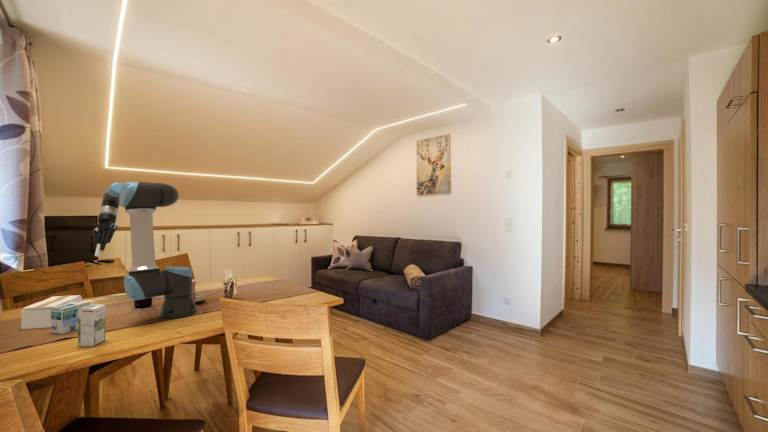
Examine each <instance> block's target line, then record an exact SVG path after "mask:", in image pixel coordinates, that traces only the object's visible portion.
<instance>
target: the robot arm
mask: <svg viewBox="0 0 768 432" xmlns="http://www.w3.org/2000/svg"><path fill="white" fill-rule="evenodd" d="M179 198H180V194H179V191H178V189H177V188H176V187H174V186H172V185H171V184H167V183H164V182H163V183H162V182H161V183H159V182H158V183H157V182H147V181H127V182H125V183H122V182H113V183H112V184H110V185H109V187H108V188H107V189H106V190H104V193H103V196H102V202H101V205H100V209H99V213H98V216H97V222H98V223H97V225H96V227H95V228H92V229H91V231H92V244H93V245H96V246H95V249H94V250H95V252H94V256H95V257H97V258H102V257H103V254H104V251H105V249H106V245H107V244H110V243H111V241H112V238H113V237H114V235H115V232H116V230H117V229H118V227H119V226H118V225H117V224H116V222H117V217H118V212H119V207H122V208H124V212H125V213H127V214H128V215H129V227H130V243H131V244H130V246H131V247H130V248H131V249H130V250H131V266H132V267H131V268H130V269H129V270H128V274H126V275H125V276H124V277H123V287H124V290H125V293H126V295H127V298H128V299H130V301H138V300H139V301H140V300H146V299H151V298H156V297H161V296H163V297H164V300H163V303H162V305H161V308H160V311H159V317H160V318H162V319H179V318H183V317H189V316H191V315H193V314H195V313H196V312H197V306H196V303H195V301H194V298H193V277H194V276H193V271H192V268H190V267H188V266H187V267H186V266H175V265H173V266H165V267H164V268H163V270H160V266H158V265H157V264H156V255H155V254H156V251H155V238H154V237H155V236H154V219H153V214H154V213H155V212H156V211H157V208H166V207H170V206H172V205H175V203H177V202H178V200H179Z"/></svg>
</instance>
